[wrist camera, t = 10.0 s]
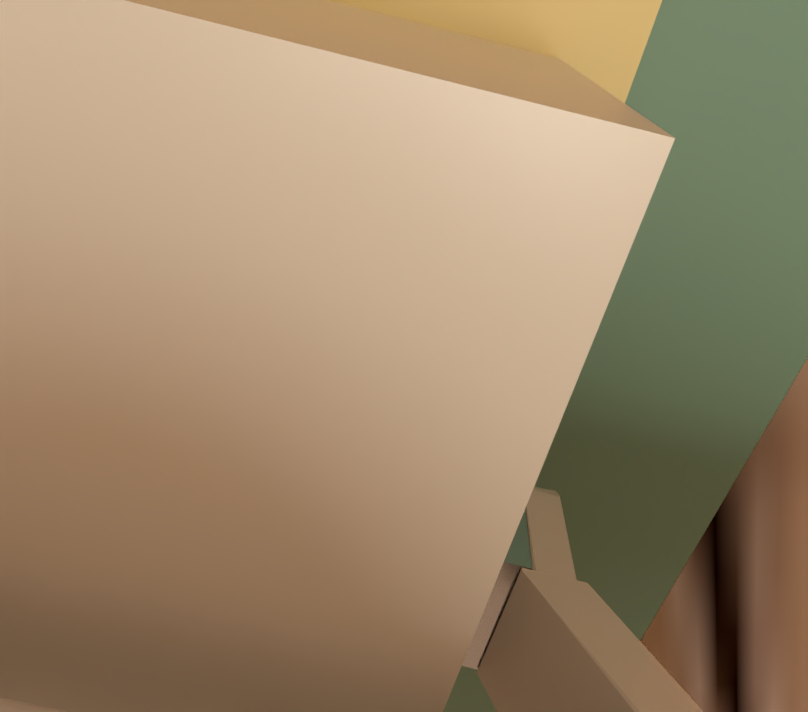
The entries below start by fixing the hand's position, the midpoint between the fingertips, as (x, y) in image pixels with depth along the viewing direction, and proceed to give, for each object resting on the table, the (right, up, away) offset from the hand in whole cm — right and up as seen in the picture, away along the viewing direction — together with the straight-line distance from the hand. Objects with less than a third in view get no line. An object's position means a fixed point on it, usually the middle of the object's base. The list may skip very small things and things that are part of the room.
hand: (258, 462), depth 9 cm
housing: (0, +1, +1) cm, 1 cm away
